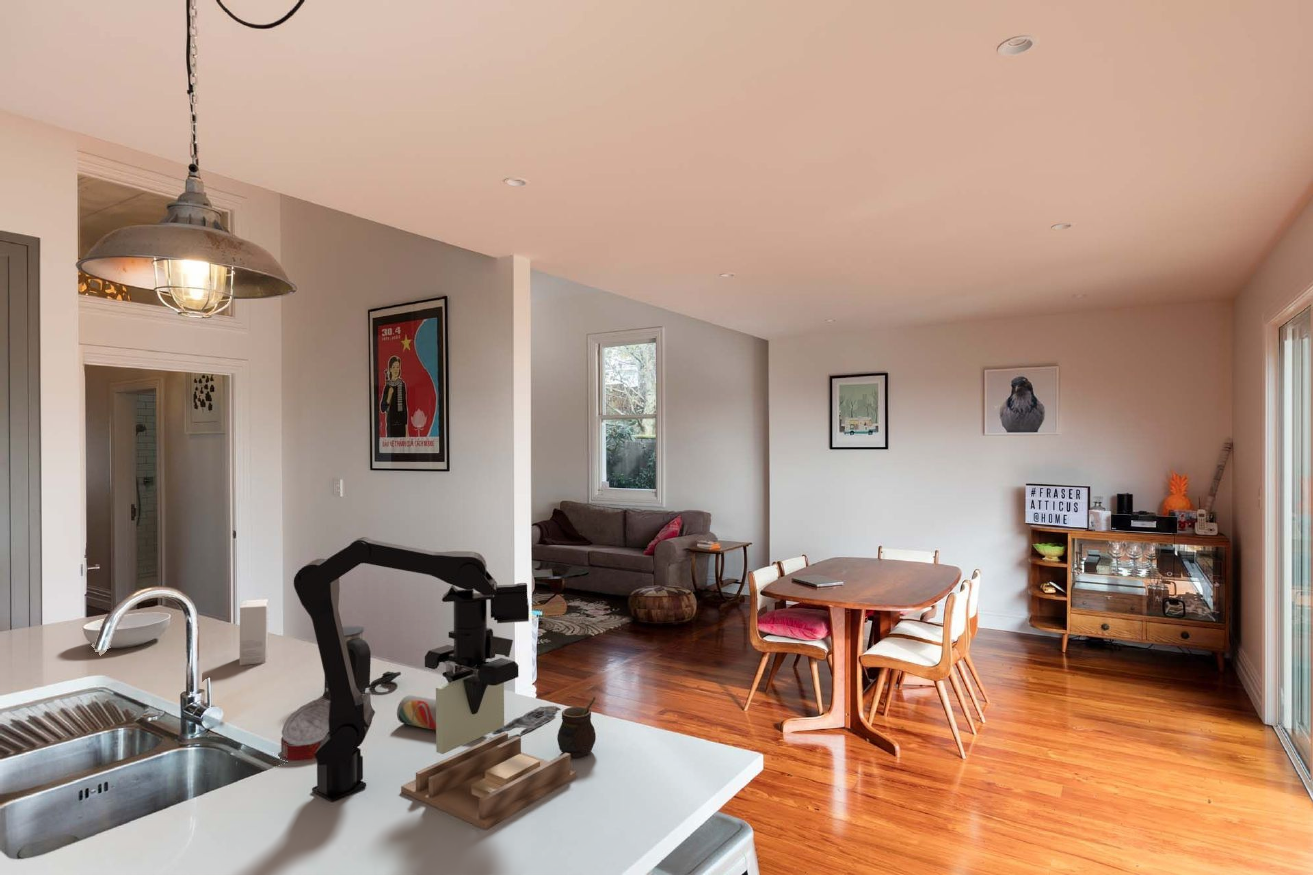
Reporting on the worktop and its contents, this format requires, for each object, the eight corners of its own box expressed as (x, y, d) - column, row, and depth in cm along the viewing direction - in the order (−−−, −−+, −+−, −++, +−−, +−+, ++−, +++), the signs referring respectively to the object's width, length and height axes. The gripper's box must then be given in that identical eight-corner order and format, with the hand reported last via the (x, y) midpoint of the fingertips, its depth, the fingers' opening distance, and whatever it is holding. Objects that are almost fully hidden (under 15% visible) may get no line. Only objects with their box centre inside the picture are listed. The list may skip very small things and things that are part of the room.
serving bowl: (166, 630, 229) (166, 608, 229) (175, 644, 213) (175, 621, 213) (81, 642, 216) (81, 619, 216) (84, 659, 200) (84, 634, 200)
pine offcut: (496, 804, 119) (496, 794, 119) (471, 793, 122) (471, 784, 122) (544, 777, 128) (544, 768, 127) (519, 768, 131) (519, 760, 131)
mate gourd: (549, 752, 140) (549, 699, 140) (582, 741, 145) (582, 690, 145) (570, 765, 135) (570, 710, 134) (604, 753, 139) (603, 700, 139)
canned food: (339, 768, 144) (357, 727, 142) (289, 783, 136) (307, 739, 134) (312, 729, 150) (329, 689, 148) (263, 741, 142) (281, 699, 140)
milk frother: (313, 697, 170) (312, 633, 170) (361, 676, 185) (361, 617, 185) (363, 704, 165) (362, 639, 165) (409, 682, 180) (408, 621, 180)
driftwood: (546, 708, 164) (546, 698, 164) (570, 713, 160) (570, 704, 160) (478, 743, 146) (478, 732, 146) (504, 750, 143) (503, 739, 143)
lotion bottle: (392, 720, 151) (473, 736, 144) (402, 692, 154) (481, 706, 146) (409, 725, 156) (488, 741, 148) (418, 697, 158) (496, 711, 151)
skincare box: (241, 657, 201) (241, 600, 200) (269, 654, 203) (268, 598, 203) (239, 666, 193) (238, 607, 193) (267, 662, 196) (266, 604, 196)
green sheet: (442, 754, 124) (441, 689, 124) (436, 751, 125) (435, 687, 125) (504, 726, 136) (503, 667, 135) (498, 724, 136) (497, 665, 136)
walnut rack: (485, 829, 113) (485, 803, 113) (401, 791, 125) (401, 768, 125) (576, 776, 130) (576, 754, 130) (494, 747, 142) (494, 727, 142)
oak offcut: (505, 787, 121) (505, 778, 121) (485, 779, 124) (485, 770, 124) (540, 769, 127) (540, 760, 127) (519, 762, 130) (519, 753, 130)
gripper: (540, 622, 131) (541, 709, 131) (470, 608, 142) (471, 688, 142) (493, 636, 122) (494, 730, 122) (422, 620, 133) (423, 706, 133)
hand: (471, 712), depth 130 cm, fingers closed on green sheet, 2 cm apart
